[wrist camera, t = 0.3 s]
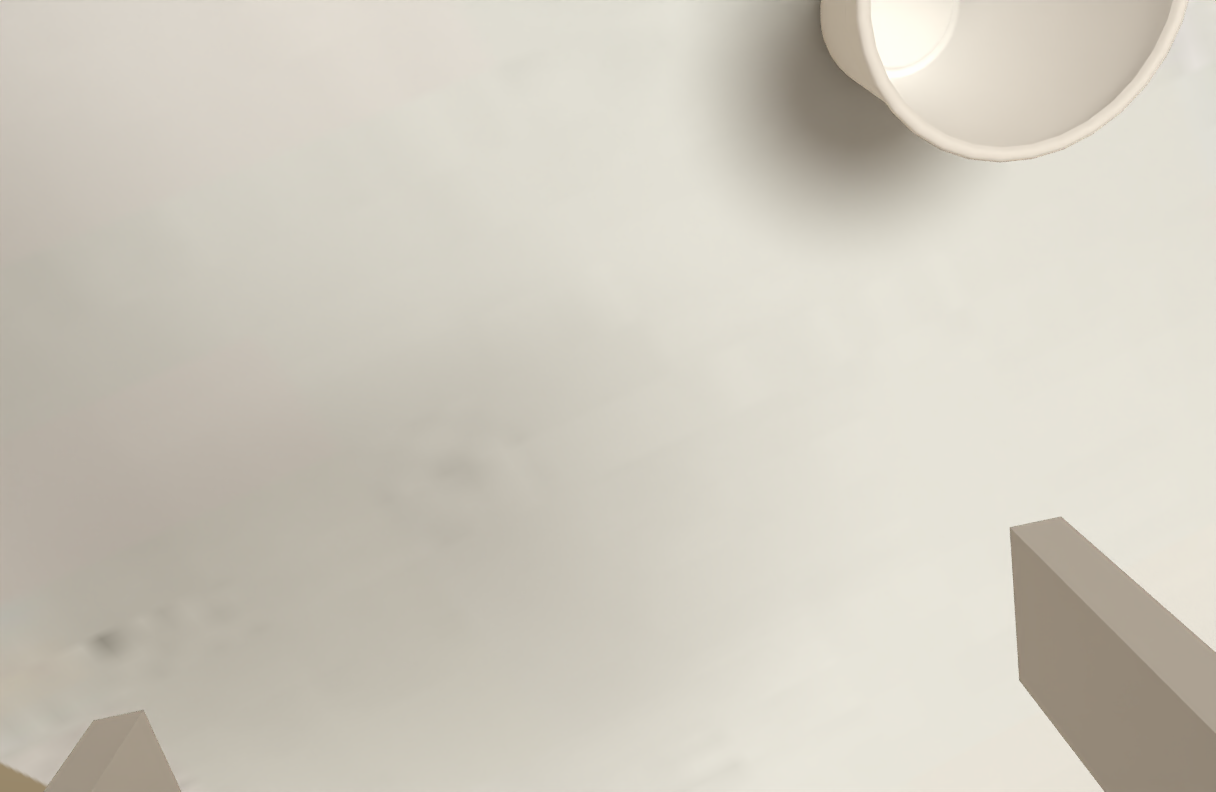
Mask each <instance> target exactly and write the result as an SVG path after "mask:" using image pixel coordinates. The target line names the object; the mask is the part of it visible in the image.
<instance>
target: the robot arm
mask: <svg viewBox="0 0 1216 792" xmlns="http://www.w3.org/2000/svg"><path fill="white" fill-rule="evenodd" d="M1010 539H1011V555H1012V571H1013V587H1014V603H1015V619H1016V636H1017V652H1018V668H1019V680H1020V682H1021V683H1022V684H1023V686H1024V687H1025V688H1026V690H1027V691H1028V692H1029V694H1030V695H1031V696H1032V697H1033V699H1034V700H1035V701H1036V703H1037V704H1038V705H1039V707H1040V708H1041V709H1042V711H1043V712H1044V713H1045V714H1046V716H1047V717H1048V718H1049V720H1050V721H1051V722H1052V724H1053V725H1054V726H1055V727H1056V729H1057V730H1058V731H1059V733H1060V734H1061V735H1062V737H1063V738H1064V739H1065V741H1066V742H1067V743H1068V744H1069V746H1070V747H1071V748H1072V750H1073V751H1074V752H1075V754H1076V755H1077V756H1078V758H1079V759H1080V760H1081V761H1082V763H1083V764H1084V765H1085V767H1086V768H1087V769H1088V771H1089V772H1090V773H1091V775H1092V776H1093V777H1094V778H1095V780H1096V781H1097V782H1098V784H1099V785H1100V786H1101V788H1102V789H1103V790H1104V792H1216V652H1215V651H1213V650H1212V649H1211V648H1210V647H1209V646H1208V645H1207V644H1205V643H1204V642H1203V641H1202V640H1201V639H1200V638H1199V637H1197V636H1196V635H1195V634H1194V633H1193V632H1192V631H1191V630H1189V629H1188V628H1187V627H1186V626H1185V625H1184V624H1183V623H1182V622H1180V621H1179V620H1178V619H1177V618H1176V617H1175V616H1174V615H1172V614H1171V613H1170V612H1169V611H1168V610H1167V609H1166V608H1164V607H1163V606H1162V605H1161V604H1160V603H1159V602H1158V601H1156V600H1155V599H1154V598H1153V597H1152V596H1151V595H1150V594H1149V593H1147V592H1146V591H1145V590H1144V589H1143V588H1142V587H1141V586H1139V585H1138V584H1137V583H1136V582H1135V581H1134V580H1133V579H1131V578H1130V577H1129V576H1128V575H1127V574H1126V573H1125V572H1123V571H1122V570H1121V569H1120V568H1119V567H1118V566H1117V565H1116V564H1114V563H1113V562H1112V561H1111V560H1110V559H1109V558H1108V557H1106V556H1105V555H1104V554H1103V553H1102V552H1101V551H1100V550H1098V549H1097V548H1096V547H1095V546H1094V545H1093V544H1092V543H1091V542H1089V541H1088V540H1087V539H1086V538H1085V537H1084V536H1083V535H1081V534H1080V533H1079V532H1078V531H1077V530H1076V529H1075V528H1073V527H1072V526H1071V525H1070V524H1069V523H1068V522H1067V521H1065V520H1064V519H1063V518H1062V517H1057V518H1052V519H1047V520H1043V521H1038V522H1033V523H1028V524H1024V525H1019V526H1014V527H1010ZM44 792H181V790H180V788H179V786H178V784H177V781H176V779H175V777H174V775H173V773H172V771H171V768H170V766H169V764H168V762H167V760H166V758H165V755H164V753H163V751H162V749H161V747H160V745H159V743H158V740H157V738H156V736H155V734H154V732H153V730H152V727H151V725H150V723H149V721H148V719H147V717H146V714H145V712H144V710H141V711H136V712H131V713H127V714H122V715H117V716H113V717H108V718H103V719H98V720H94V721H93V722H92V723H91V725H90V726H89V728H88V729H87V731H86V732H85V733H84V735H83V736H82V738H81V739H80V741H79V742H78V743H77V745H76V746H75V748H74V749H73V751H72V752H71V753H70V755H69V756H68V758H67V759H66V761H65V762H64V763H63V765H62V766H61V768H60V769H59V771H58V772H57V773H56V775H55V776H54V778H53V779H52V781H51V782H50V783H49V785H48V786H47V788H46V789H45V791H44Z"/></svg>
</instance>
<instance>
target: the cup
mask: <svg viewBox="0 0 1216 792" xmlns="http://www.w3.org/2000/svg"><path fill="white" fill-rule="evenodd" d="M1188 1H1189V0H821V6H820V22H821V29H822V33H823V38H824V41H825V44H826V46H827V49H828V51H829V53H830V55H831V57H832V58H833V60H834V61H835V63H836V64H837V65H838V67H839V68H840V69H841V70H842V71H843V72H844V73H845V74H847V75H848V76H849V77H850V78H851V79H853V80H854V81H855V82H857V83H858V84H860V85H861V86H863V87H864V88H865V89H867V90H868V91H870V92H871V93H872V94H874V95H875V96H876V97H878V98H879V99H881V100H882V101H883V102H885V103H886V104H887V106H888V107H889V109H890V110H891V112H892V113H893V114H894V115H895V116H896V117H897V118H898V119H899V120H900V121H902V122H903V123H904V124H905V125H906V126H907V127H908V128H909V129H910V130H911V131H912V132H913V133H914V134H915V135H917V136H919V137H920V138H922V139H924V140H925V141H927V142H929V143H930V144H932V145H934V146H935V147H937V148H939V149H940V150H943V151H946V152H949V153H952V154H955V155H958V156H961V157H964V158H967V159H973V160H983V161H993V162H1007V161H1017V160H1027V159H1033V158H1037V157H1040V156H1043V155H1046V154H1050V153H1053V152H1056V151H1060V150H1063V149H1065V148H1067V147H1069V146H1071V145H1073V144H1074V143H1076V142H1078V141H1080V140H1082V139H1084V138H1086V137H1088V136H1090V135H1092V134H1094V133H1095V132H1096V131H1097V130H1099V129H1100V128H1101V127H1103V126H1104V125H1105V124H1107V123H1108V122H1109V121H1111V120H1112V119H1113V118H1114V117H1116V116H1117V115H1118V114H1120V113H1121V112H1122V111H1123V110H1124V109H1125V108H1126V107H1127V106H1128V105H1129V104H1130V103H1131V102H1132V100H1133V99H1134V98H1135V97H1136V96H1137V95H1138V94H1139V93H1140V92H1141V91H1142V90H1143V89H1144V88H1145V87H1146V86H1147V84H1148V83H1149V81H1150V80H1151V78H1152V77H1153V75H1154V74H1155V72H1156V71H1157V69H1158V68H1159V66H1160V65H1161V63H1162V62H1163V60H1164V59H1165V58H1166V56H1167V54H1168V52H1169V50H1170V48H1171V46H1172V43H1173V41H1174V39H1175V37H1176V35H1177V33H1178V31H1179V28H1180V26H1181V24H1182V22H1183V19H1184V15H1185V12H1186V8H1187V5H1188Z"/></svg>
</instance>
